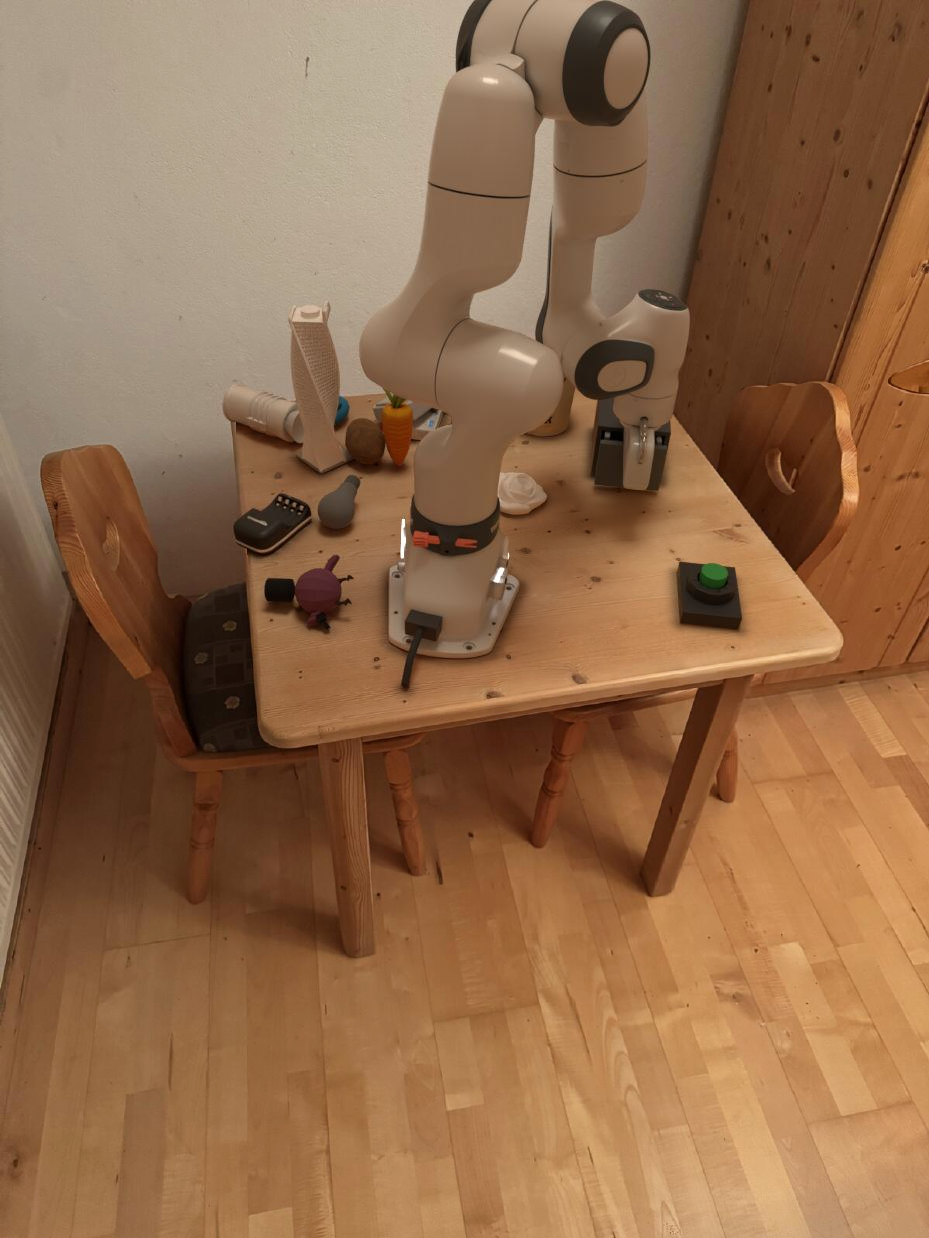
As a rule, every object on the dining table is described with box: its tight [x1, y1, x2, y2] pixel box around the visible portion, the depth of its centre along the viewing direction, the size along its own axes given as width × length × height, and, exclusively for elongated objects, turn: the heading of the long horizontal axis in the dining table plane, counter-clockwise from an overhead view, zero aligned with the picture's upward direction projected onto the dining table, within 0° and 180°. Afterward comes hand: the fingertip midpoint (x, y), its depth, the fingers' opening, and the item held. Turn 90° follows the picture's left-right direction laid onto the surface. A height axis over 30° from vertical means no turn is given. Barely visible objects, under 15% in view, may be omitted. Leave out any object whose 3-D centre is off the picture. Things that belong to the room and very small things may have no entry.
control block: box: [676, 561, 743, 631], centre depth 125 cm, size 11×8×4 cm
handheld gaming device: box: [372, 393, 432, 423], centre depth 158 cm, size 9×15×4 cm, turn 153°
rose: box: [498, 471, 548, 516], centre depth 141 cm, size 10×4×10 cm
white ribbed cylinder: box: [221, 383, 305, 444], centre depth 154 cm, size 7×7×15 cm
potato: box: [344, 417, 386, 465], centre depth 148 cm, size 7×10×6 cm
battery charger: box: [232, 492, 313, 556], centre depth 134 cm, size 7×4×11 cm
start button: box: [699, 562, 728, 589], centre depth 123 cm, size 4×4×2 cm
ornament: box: [334, 395, 351, 427], centre depth 158 cm, size 8×5×10 cm
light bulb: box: [317, 474, 362, 530], centre depth 136 cm, size 6×6×10 cm
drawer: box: [593, 430, 668, 492], centre depth 146 cm, size 15×10×8 cm
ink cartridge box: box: [381, 408, 445, 441], centre depth 158 cm, size 2×11×10 cm
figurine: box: [263, 554, 355, 631], centre depth 121 cm, size 8×8×12 cm
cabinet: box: [590, 397, 672, 483], centre depth 150 cm, size 15×12×10 cm
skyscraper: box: [287, 299, 356, 475], centre depth 140 cm, size 8×8×28 cm
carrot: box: [381, 388, 413, 467], centre depth 144 cm, size 5×5×15 cm
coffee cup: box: [523, 330, 576, 437], centre depth 156 cm, size 12×12×15 cm
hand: (630, 480), depth 140 cm, fingers closed
